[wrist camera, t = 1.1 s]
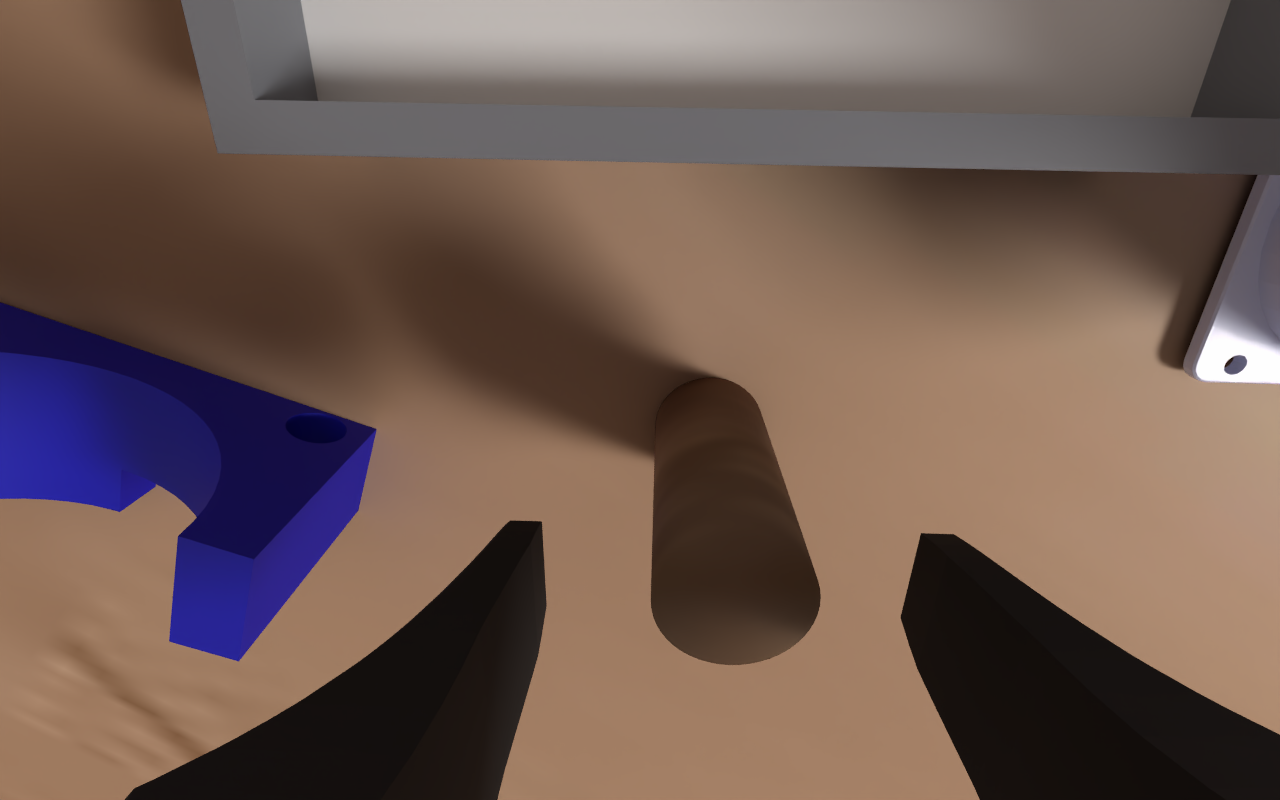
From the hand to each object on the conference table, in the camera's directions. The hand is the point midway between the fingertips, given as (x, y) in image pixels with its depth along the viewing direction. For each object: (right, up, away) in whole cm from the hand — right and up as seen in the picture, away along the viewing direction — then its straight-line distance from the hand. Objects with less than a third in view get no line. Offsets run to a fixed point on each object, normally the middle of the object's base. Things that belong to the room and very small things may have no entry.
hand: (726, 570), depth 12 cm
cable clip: (-16, +3, +6) cm, 17 cm away
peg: (0, +2, +6) cm, 6 cm away
